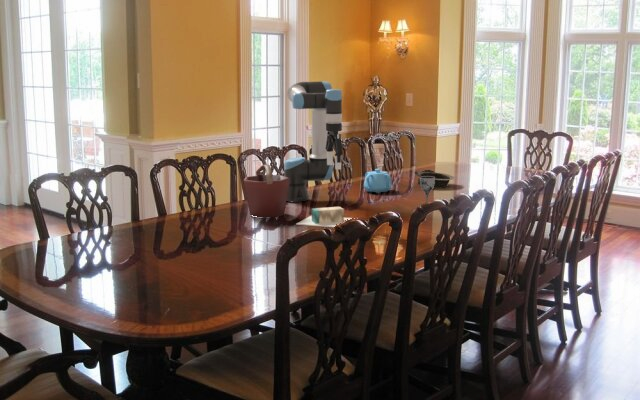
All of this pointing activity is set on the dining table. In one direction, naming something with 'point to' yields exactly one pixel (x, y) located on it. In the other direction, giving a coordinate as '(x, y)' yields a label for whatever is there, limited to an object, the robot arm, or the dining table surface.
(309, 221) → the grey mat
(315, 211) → the teal and beige block
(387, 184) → the decorative pot
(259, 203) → the bucket
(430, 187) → the wine glass
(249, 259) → the dining table surface
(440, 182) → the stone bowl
